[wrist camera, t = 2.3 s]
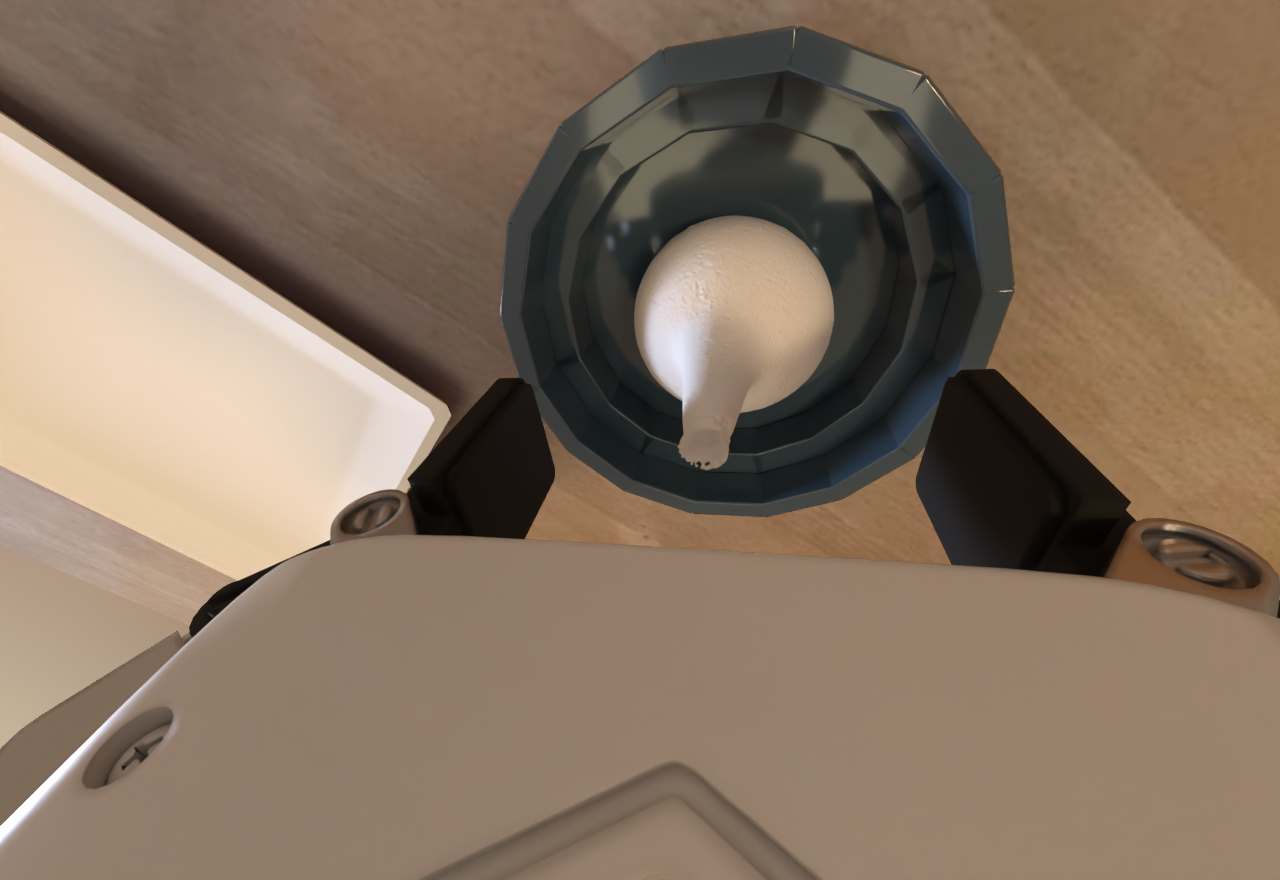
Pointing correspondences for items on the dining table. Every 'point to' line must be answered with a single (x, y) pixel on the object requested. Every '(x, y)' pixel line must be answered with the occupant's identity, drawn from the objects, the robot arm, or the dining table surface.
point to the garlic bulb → (731, 324)
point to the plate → (181, 377)
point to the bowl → (787, 196)
